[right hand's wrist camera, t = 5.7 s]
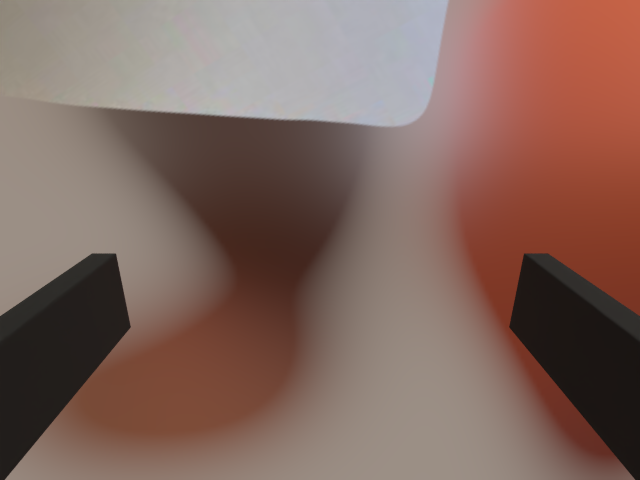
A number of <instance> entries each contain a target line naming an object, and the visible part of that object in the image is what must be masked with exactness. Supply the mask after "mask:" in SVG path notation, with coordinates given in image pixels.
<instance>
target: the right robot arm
mask: <svg viewBox="0 0 640 480" xmlns="http://www.w3.org/2000/svg"><path fill="white" fill-rule="evenodd" d="M130 327H131V326H130V321H129V316H128V312H127V307H126V302H125V297H124V292H123V287H122V282H121V277H120V272H119V267H118V262H117V257H116V254H91V255H89V256H88V257H86V258H85V259H83V260H82V261H81V262H79V263H78V264H76V265H75V266H73V267H72V268H70V269H69V270H67V271H66V272H64V273H63V274H61V275H60V276H59V277H57V278H56V279H54V280H53V281H51V282H50V283H48V284H47V285H45V286H44V287H42V288H41V289H40V290H38V291H37V292H35V293H34V294H32V295H31V296H29V297H28V298H26V299H25V300H23V301H22V302H20V303H19V304H18V305H16V306H15V307H13V308H12V309H10V310H9V311H7V312H6V313H4V314H3V315H1V316H0V480H5V479H6V477H7V476H8V475H9V474H10V473H11V471H12V470H13V469H14V468H15V467H16V465H17V464H18V463H19V462H20V460H21V459H22V458H23V457H24V456H25V454H26V453H27V452H28V451H29V450H30V448H31V447H32V446H33V445H34V443H35V442H36V441H37V440H38V439H39V437H40V436H41V435H42V434H43V433H44V431H45V430H46V429H47V428H48V427H49V425H50V424H51V423H52V422H53V421H54V419H55V418H56V417H57V416H58V415H59V413H60V412H61V411H62V410H63V408H64V407H65V406H66V405H67V404H68V402H69V401H70V400H71V399H72V398H73V396H74V395H75V394H76V393H77V392H78V390H79V389H80V388H81V387H82V385H83V384H84V383H85V382H86V381H87V379H88V378H89V377H90V376H91V375H92V373H93V372H94V371H95V370H96V369H97V367H98V366H99V365H100V364H101V362H102V361H103V360H104V359H105V358H106V356H107V355H108V354H109V353H110V352H111V350H112V349H113V348H114V347H115V346H116V344H117V343H118V342H119V341H120V339H121V338H122V337H123V336H124V335H125V333H126V332H127V331H128V330H129V329H130ZM509 327H510V329H511V330H512V331H513V332H514V333H515V335H516V336H517V337H518V338H519V339H520V341H521V342H522V343H523V344H524V345H525V347H526V348H527V349H528V350H529V352H530V353H531V354H532V355H533V356H534V358H535V359H536V360H537V361H538V362H539V364H540V365H541V366H542V367H543V368H544V370H545V371H546V372H547V373H548V374H549V376H550V377H551V378H552V379H553V381H554V382H555V383H556V384H557V385H558V387H559V388H560V389H561V390H562V391H563V393H564V394H565V395H566V396H567V398H568V399H569V400H570V401H571V402H572V404H573V405H574V406H575V407H576V408H577V410H578V411H579V412H580V413H581V415H582V416H583V417H584V418H585V419H586V421H587V422H588V423H589V424H590V425H591V426H592V428H593V429H594V430H595V431H596V433H597V434H598V435H599V436H600V437H601V439H602V440H603V441H604V442H605V444H606V445H607V446H608V447H609V448H610V450H611V451H612V452H613V453H614V454H615V456H616V457H617V458H618V459H619V460H620V462H621V463H622V464H623V465H624V466H625V468H626V469H627V470H628V471H629V473H630V474H631V475H632V476H633V477H634V479H635V480H640V316H639V315H637V314H636V313H634V312H633V311H631V310H630V309H628V308H627V307H625V306H624V305H622V304H621V303H620V302H618V301H617V300H615V299H614V298H612V297H611V296H609V295H608V294H606V293H605V292H603V291H602V290H601V289H599V288H598V287H596V286H595V285H593V284H592V283H590V282H589V281H587V280H586V279H584V278H583V277H581V276H580V275H579V274H577V273H576V272H574V271H573V270H571V269H570V268H568V267H567V266H565V265H564V264H562V263H561V262H559V261H558V260H557V259H555V258H554V257H552V256H551V255H549V254H524V257H523V262H522V267H521V272H520V277H519V282H518V287H517V292H516V297H515V302H514V306H513V311H512V316H511V322H510V326H509Z"/></svg>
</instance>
